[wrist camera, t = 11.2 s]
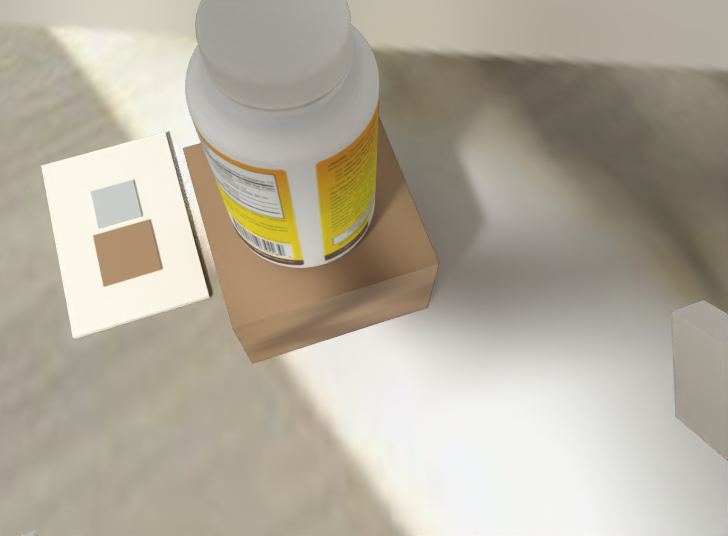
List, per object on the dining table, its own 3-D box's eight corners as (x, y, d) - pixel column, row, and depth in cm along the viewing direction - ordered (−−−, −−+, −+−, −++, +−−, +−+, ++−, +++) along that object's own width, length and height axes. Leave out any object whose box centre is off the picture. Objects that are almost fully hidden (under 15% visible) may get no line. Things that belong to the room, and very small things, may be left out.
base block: (252, 363, 30) (232, 328, 25) (207, 206, 32) (182, 148, 28) (426, 307, 31) (439, 263, 26) (368, 159, 33) (370, 96, 29)
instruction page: (74, 339, 30) (72, 337, 30) (43, 167, 33) (40, 164, 33) (209, 297, 31) (208, 295, 30) (166, 134, 34) (164, 130, 34)
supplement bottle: (366, 141, 28) (371, -72, 19) (382, 266, 26) (397, 98, 16) (228, 153, 28) (162, -57, 18) (232, 280, 26) (160, 117, 16)
